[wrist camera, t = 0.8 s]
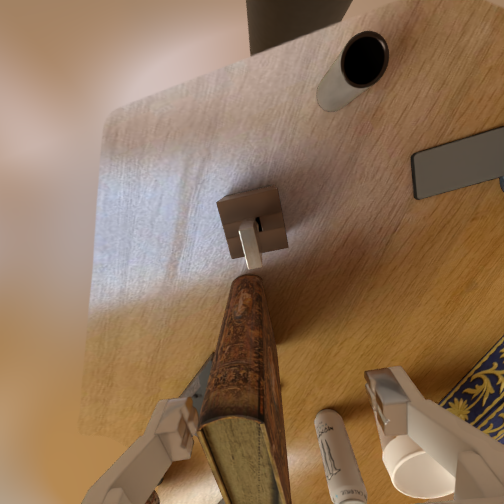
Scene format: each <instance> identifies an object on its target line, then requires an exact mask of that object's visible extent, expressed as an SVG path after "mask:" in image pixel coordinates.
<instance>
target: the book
mask: <svg viewBox="0 0 504 504" xmlns="http://www.w3.org/2000/svg"><path fill="white" fill-rule="evenodd" d="M196 434H197V436H198V439H199V441H200V444H201V446H202V448H203V451H204V453H205V456H206V458H207V460H208V463H209V465H210V468H211V470H212V473H213V475H214V477H215V480H216V482H217V485H218V487H219V489H220V492H221V494H222V497H223V499H224V502H225V504H292V503H291V492H290V482H289V471H288V461H287V450H286V440H285V429H284V419H283V408H282V398H281V387H280V377H279V366H278V356H277V348H276V342H275V338H274V333H273V328H272V324H271V319H270V315H269V310H268V305H267V301H266V296H265V292H264V287H263V282H262V279H261V278H260V277H259V276H256V275H243V276H240V277H238V278H236V279H235V280H234V281H233V282H232V285H231V289H230V293H229V297H228V301H227V305H226V309H225V314H224V318H223V322H222V326H221V330H220V334H219V338H218V342H217V346H216V350H215V355H214V359H213V363H212V367H211V371H210V375H209V379H208V383H207V387H206V391H205V396H204V400H203V404H202V408H201V412H200V416H199V420H198V428H197V432H196Z"/></svg>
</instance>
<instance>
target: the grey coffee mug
mask: <svg viewBox="0 0 504 504" xmlns="http://www.w3.org/2000/svg"><path fill="white" fill-rule="evenodd" d="M500 186H501V189H502V191H503V192H504V176H502V177H500Z"/></svg>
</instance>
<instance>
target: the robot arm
mask: <svg viewBox="0 0 504 504" xmlns="http://www.w3.org/2000/svg"><path fill="white" fill-rule="evenodd" d="M364 377H365V379H366V381H367V383H366V385H365V387H366V393H367V397H368V400H369V402H370V405H371V407H372V409H373V410H374V411H376V412H377V420H378V422H379V424H380V426H381V428H382V430H383V432H384V434H385V436H396V435H408V436H409V437H410V438H411V439H412V440H413V441H414V442H415V443H416V444H418V445H419V446H420V447H421V448H422V449H423V450H424V451H425V452H427V453H428V454H429V455H430V456H431V457H432V458H433V459H434V460H436V461H437V462H438V463H439V464H440V465H441V466H442V467H443V468H444V469H446V470H447V471H448V472H449V473H450V474H451V475H452V476H453V477H455V478H456V480H455V490H454V500H452V501H440V502H428V503H417V504H504V445H503V444H501V443H500V442H498V441H496V440H495V439H493V438H492V437H490V436H488V435H487V434H485V433H483V432H482V431H480V430H479V429H477V428H475V427H474V426H472V425H470V424H469V423H467V422H465V421H464V420H462V419H461V418H459V417H457V416H456V415H454V414H452V413H451V412H449V411H448V410H446V409H444V408H443V407H441V406H439V405H438V404H436V403H434V402H433V401H431V400H430V399H428V400H425V398H424V397H423V396H422V394H421V393H420V391H419V390H418V389H417V387H416V386H415V384H414V383H413V382H412V380H411V379H410V378H409V376H408V375H407V373H406V372H405V371H404V369H403V368H402V367H401V366H395V367H388V368H381V369H374V370H368V371H365V372H364ZM192 404H193V400H192V398H191V397H182V398H173V399H165V400H160V401H159V402H158V403H157V405H156V407H155V409H154V412H153V414H152V416H151V419H150V421H149V423H148V425H147V428H146V430H145V432H144V435H143V436H140V437H139V438H138V439H137V440H136V441H135V442H134V443H133V444H132V445H131V446H130V447H129V448H128V449H127V450H126V451H125V453H123V454H122V456H121V457H120V458H119V459H118V460H117V461H116V462H115V463H114V464H113V465H112V466H111V467H110V468H109V469H108V470H107V471H106V472H105V473H104V474H103V475H102V476H101V477H100V478H99V479H98V480H97V481H96V483H95V484H94V485H93V486H92V487H91V488H90V489H89V490H88V492H87V494H86V496H85V498H84V499H83V501H82V503H81V504H145V502H146V501H147V499H148V498H149V497H150V495H151V494H152V492H153V491H154V489H155V487H156V486H157V485H158V483H159V482H160V480H161V479H162V477H163V476H164V474H165V473H166V471H167V470H168V468H169V467H170V465H171V464H172V461H179V460H185V459H190V457H191V453H192V449H193V445H194V440H193V438H192V437H193V435H194V434H195V433H196V432H197V428H198V412H197V409H196V408H195V407H193V406H192Z"/></svg>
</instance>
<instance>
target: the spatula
mask: <svg viewBox="0 0 504 504" xmlns="http://www.w3.org/2000/svg"><path fill="white" fill-rule="evenodd" d="M239 234H240V238H241V242H242V246H243V250H244V254H245V258H246V262H247V266H248V270H250V269H256V268H261V267H262V246H261V242H260V237H259V217H256V218H255V216H252V217H247V218H243V220H242V223H241V225H240V228H239Z"/></svg>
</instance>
